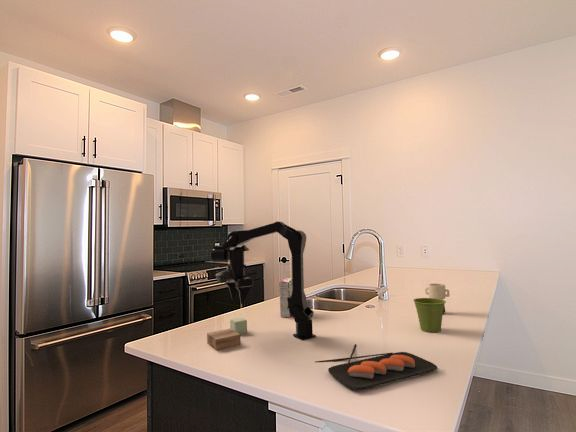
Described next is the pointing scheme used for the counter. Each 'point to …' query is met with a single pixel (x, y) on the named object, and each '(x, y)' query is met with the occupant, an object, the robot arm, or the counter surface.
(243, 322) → the green cube
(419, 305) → the plant pot
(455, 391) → the counter surface
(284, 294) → the candy bar box
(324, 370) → the counter surface
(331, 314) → the counter surface
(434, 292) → the character mug
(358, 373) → the sushi plate
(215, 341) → the walnut block
